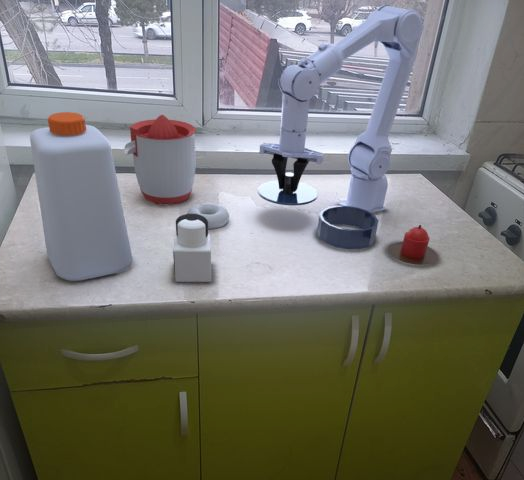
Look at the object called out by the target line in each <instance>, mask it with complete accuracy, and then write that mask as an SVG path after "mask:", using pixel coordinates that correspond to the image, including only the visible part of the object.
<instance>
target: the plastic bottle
mask: <svg viewBox="0 0 524 480" xmlns="http://www.w3.org/2000/svg"><path fill="white" fill-rule="evenodd" d="M47 124H48V127H41V128H36V129H35V130H33V131H32V132H30V133H31V134H30V136H29V142H30V148H31V155H32V161H33V162H32V163H33V168H34V175H35V182H36V183H35V184H36V187H37V195H38V202H39V211H40V217H41V223H42V229H43V237H44V243H45V249H46V255H47V258H48V260H49V262H50V264H51V266H52V268H53V270H54V272H55V274H56V275H57V276H58V277H59V278H61V279H63V280H66V281H71V282H79V281H85V280H90V279H94V278H95V279H96V278H99V277H104V276H109V275H114V274H119V273H122V272H124V271H126V270H128V268H130V267H131V265H132V263H133V255H132V250H131V244H130V238H129V234H128V228H127V223H126V218H125V213H124V208H123V203H122V198H121V192H120V187H119V182H118V177H117V172H116V166H115V161H114V156H113V150H112V146H111V145H112V144H111V143H110V141H109V140H108V138H107V137H106V136H105V135H104V134H103V133H102V132H101V130H99V129H98V128H97V127H95V126H94V125H89V124H86V119H85V117H84V116H83V115H82V114H80V113H77V112H69V111H67V112H66V111H64V112H63V111H62V112H57V113H52V114H50V115H49V116H48V118H47Z"/></svg>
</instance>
